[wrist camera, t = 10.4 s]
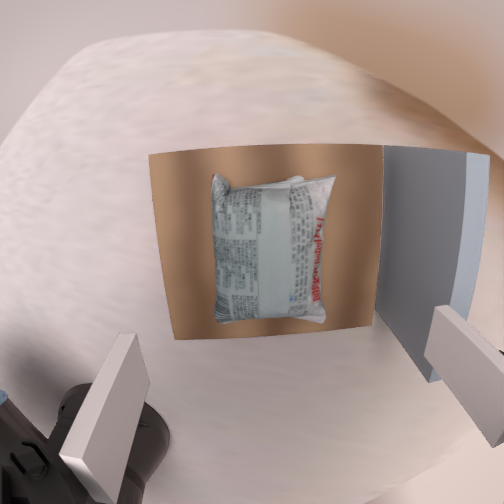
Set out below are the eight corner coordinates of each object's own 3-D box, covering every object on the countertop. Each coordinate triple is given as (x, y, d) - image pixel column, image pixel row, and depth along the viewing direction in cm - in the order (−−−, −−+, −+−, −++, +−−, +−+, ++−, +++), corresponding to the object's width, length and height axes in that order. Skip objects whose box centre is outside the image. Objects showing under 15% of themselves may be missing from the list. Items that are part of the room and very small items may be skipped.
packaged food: (328, 171, 24) (348, 178, 19) (319, 312, 27) (332, 344, 23) (212, 171, 23) (204, 177, 19) (217, 313, 27) (213, 347, 23)
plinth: (179, 323, 31) (174, 339, 28) (158, 153, 26) (148, 154, 23) (361, 310, 31) (371, 325, 28) (368, 144, 26) (382, 145, 23)
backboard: (374, 308, 31) (428, 382, 20) (383, 145, 26) (466, 152, 15) (392, 306, 31) (449, 377, 20) (402, 146, 26) (489, 155, 15)
